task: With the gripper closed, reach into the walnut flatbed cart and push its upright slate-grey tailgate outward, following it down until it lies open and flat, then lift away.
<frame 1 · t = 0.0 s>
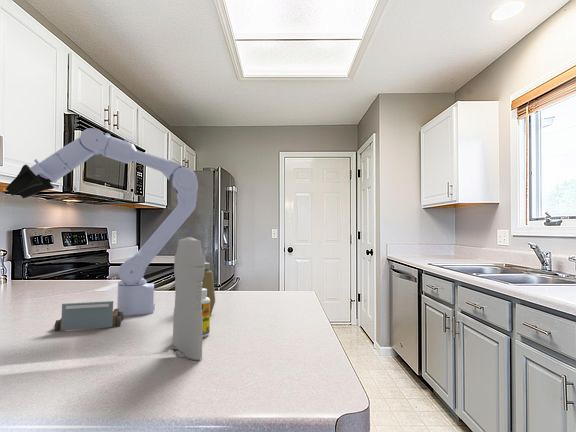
hand: (14, 193, 90), 32 cm above the countertop, tool tilted 50°, fingers open, 7 cm apart
tall pale column: (186, 354, 68), on the countertop
squeeze bottle: (200, 315, 101), on the countertop
supplement bottle: (196, 336, 80), on the countertop
tailgate: (87, 315, 80), point 4 cm above the countertop, hinge at 0.0°
cart bed: (91, 329, 85), on the countertop
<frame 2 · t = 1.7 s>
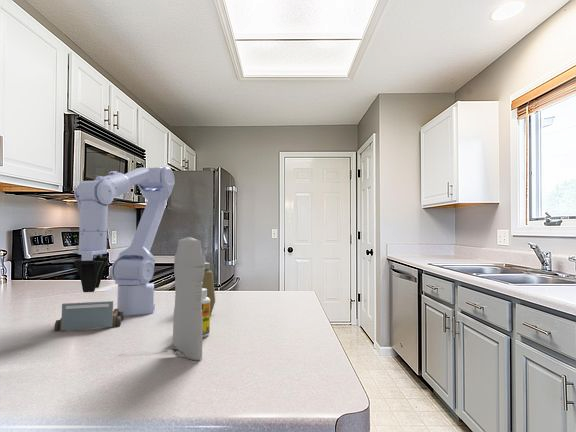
hand: (91, 289, 84), 9 cm above the countertop, tool pointing down, fingers open, 6 cm apart
nothing on the countertop moved.
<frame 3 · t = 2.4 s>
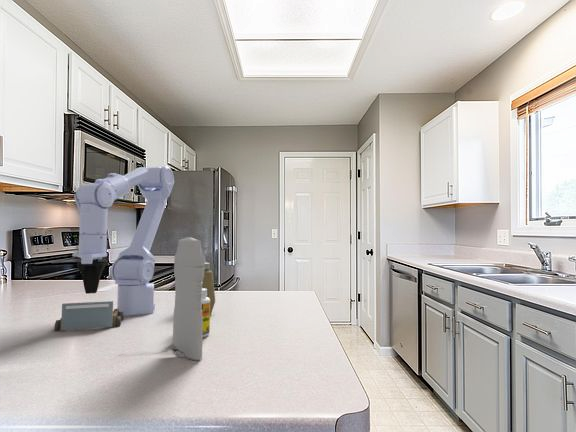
hand: (91, 293, 84), 9 cm above the countertop, tool pointing down, fingers closed
nothing on the countertop moved.
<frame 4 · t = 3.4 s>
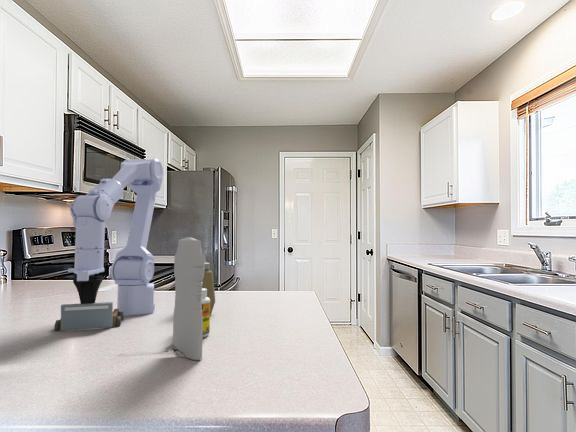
hand: (87, 310, 80), 6 cm above the countertop, tool pointing down, fingers closed, pressing on tailgate
tailgate: (87, 316, 80), point 4 cm above the countertop, hinge at 10.1°, touching gripper
everything else where it was.
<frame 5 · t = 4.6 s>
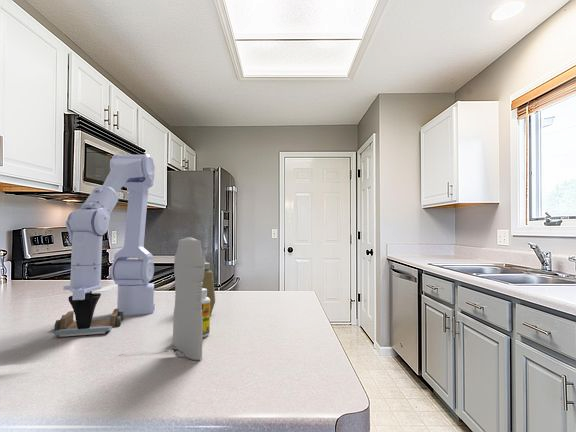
hand: (83, 329, 77), 2 cm above the countertop, tool pointing down, fingers closed, pressing on tailgate
tailgate: (84, 331, 78), point 2 cm above the countertop, hinge at 79.5°, touching gripper
everything else where it was.
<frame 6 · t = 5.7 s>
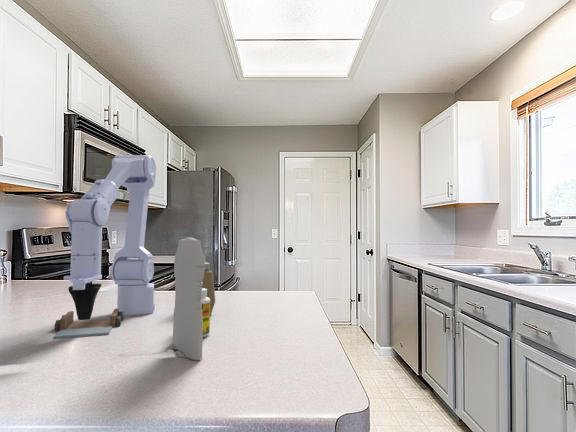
hand: (84, 319, 77), 4 cm above the countertop, tool pointing down, fingers closed
tailgate: (84, 333, 77), point 1 cm above the countertop, hinge at 89.7°
everything else where it was.
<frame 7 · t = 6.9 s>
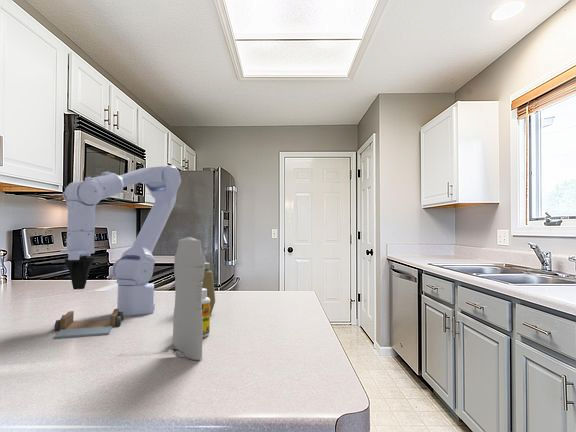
hand: (79, 288, 85), 9 cm above the countertop, tool pointing down, fingers closed
nothing on the countertop moved.
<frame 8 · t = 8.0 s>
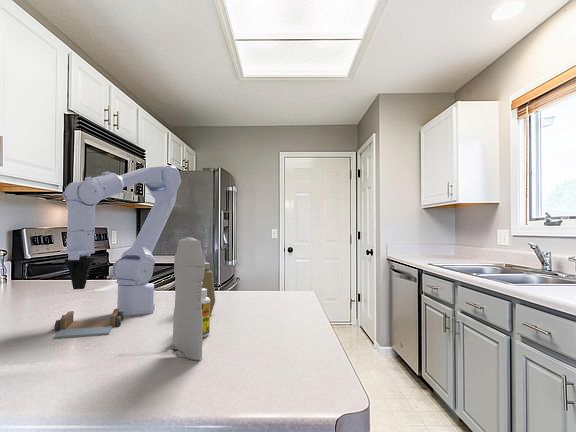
hand: (79, 288, 85), 9 cm above the countertop, tool pointing down, fingers closed
nothing on the countertop moved.
at the end: tailgate at +90° (first picture: +0°) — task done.
